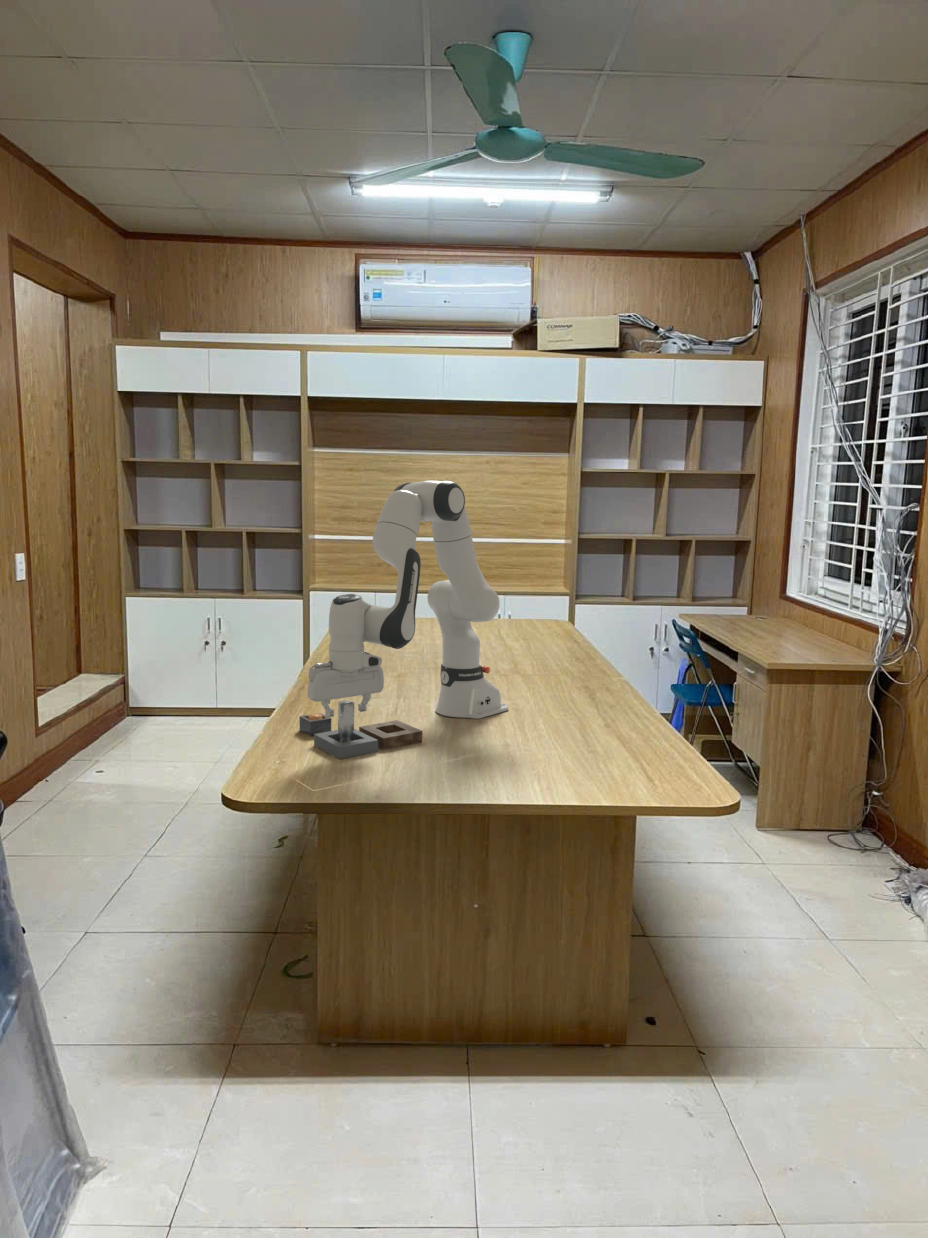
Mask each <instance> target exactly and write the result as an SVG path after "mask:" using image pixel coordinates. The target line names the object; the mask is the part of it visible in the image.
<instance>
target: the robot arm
mask: <svg viewBox="0 0 928 1238" xmlns="http://www.w3.org/2000/svg"><path fill="white" fill-rule="evenodd" d="M465 503H466V497H465V493H464V491H463V489H462V488H461V486H460V485H459V484H458V483H456V482H453V481H451V480H443V481H440V480H424V481H417V482H416V481H415V482H406V483H402V484H400V485H398V486H396V487H395V489H393V492H391V493H390V494H389V495H388V497H387V499H386V500H385V503H384V504H383V507H382V508H381V511H380V514H379V516H378V519H377V522H376V525H375V528H374V531H373V535H372V546H373V549H374V552H375V553H376V555H377V556H378V557H379V558H380V559H381V560H382V561H384V562H385V563H386V564H388V565H390V566H391V567H393V568H394V569H395V570H396V571H397V577H398V580H397V586H396V591H395V592H396V593H395V601H394V604H393V605H392V606H391V607H386V606H380V605H379V606H378V605H373V604H371V603H368V602H366V601H365V600H363V597H362V596H361V595H359V594H354V593H347V594H341V595H337V596H336V597H334V598H333V599H332V600H331V603H330V607H329V614H328V634H329V636H330V637H329V638H330V640H329V645H328V661H327V662H322V663H314V664H313V665H312V666H311V667H310V668H309V670H308V682H307V683H308V684H307V697H308V699H309V700H311V701H312V702H316V703H319V702H321V703H320V704H321V705H322V707H323V709H324V711H325V712H324V715H325V716H326V717H330V718H332V717H334V716H335V713H334V712H335V710H334V708H333V709H332V708H331V707H330V704H331V701H332V700H338V699H345V698H351V697H357V696H359V697H360V696H361V697H362V700H361V702H360V703H358V705H357V707H358V708H357V710H358V712H360V713H362V712H363V713H364V712H367V707H368V706H367V705H368V703H369V701H370V700H371V698H372V697H371V695H372V694H379V693H381V692H383V689H384V687H385V686H384V685H385V682H384V681H385V680H384V679H385V676H384V670H383V668H382V666H381V665H382V663H383V660H382V657H380V656H378V655H375V654H372V653H369V652H367V651H366V652H365V643H369V644H375V645H380V646H384V647H388V648H392V649H395V650H400V649H402V648H404V647H405V646H407V645H408V644H409V643H410V642H411V641H412V640H413V638H414V637H415V633H416V607H417V599H418V593H419V587H420V586H419V585H420V577H421V565H422V564H421V563H422V562H421V556H420V554H419V552H417V550H416V541H417V536H418V533H419V529H420V524H421V522H424V523H425V522H426V523H427V522H429V523H430V522H431V531H432V538H433V544H434V550H435V556H436V562H437V565H438V567H439V569H440V571H441V572H443V573H444V574H445V576H446V578H447V579H445V580H438V581H436V582H434V583H433V584H432V585H431V586H430V587H429V590H428V591H427V604H428V605H429V606H428V607H429V608H430V609H431V610H432V612H433V613H434V615H435V617H436V621H437V622H438V626H439V630H440V634H441V640H442V656H441V657H442V658H441V659H442V660H441V661H442V663H441V664H440V673H439V674H440V690H439V696H438V701H437V704H436V707H435V712H436V713H437V714H439V715H442V716H445V717H449V718H450V717H451V718H465V719H467V718H469V719H474V720H475V719H482V718H485V717H489V716H493V715H496V714H500V713H502V712H506V711H509V705H507V704H505V702H504V703H503V702H501V701H502V697H501V693H500V690H499V688H498V687H496V686H495V685H494V684H493V683H492V682H490V681H489V680H488V679H487V678H486V677H485V676H484V674H490V672H491V668H490V667H489V666H486V665H483V666H482V665H481V664H480V659H481V658H480V657H481V655H480V654H481V651H480V650H481V640H480V638H479V636H478V634H476V632H475V631H474V629H473V627H472V623H484V622H490V621H491V620H493V619H494V618H495V617H496V616H497V615H498V612H499V609H500V597H499V594H498V593H497V592H496V591H495V590H494V589H493V588H492V587H491V586H490V585H489V583H488V582H487V580H486V579H485V576H484V575H483V573H482V571H481V569H480V566H479V563H478V561H477V558H476V552H475V547H474V541H473V535H472V529H471V524H470V521H469V516H468V514H467V510H466V508H465V505H466V504H465ZM471 622H472V623H471Z"/></svg>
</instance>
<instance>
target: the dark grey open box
mask: <svg viewBox="0 0 928 1238" xmlns="http://www.w3.org/2000/svg"><path fill="white" fill-rule="evenodd" d="M316 714H321V715H322V719H318V720H310V719H309V715H310V714H306V715H300V716H299V731H300V732H301V733H303V734H305V735H307V736H308V737H314V734H317V733H323V732H329V731H332V717H326V715H325V714H323V713H321V712H317V713H316Z"/></svg>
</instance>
